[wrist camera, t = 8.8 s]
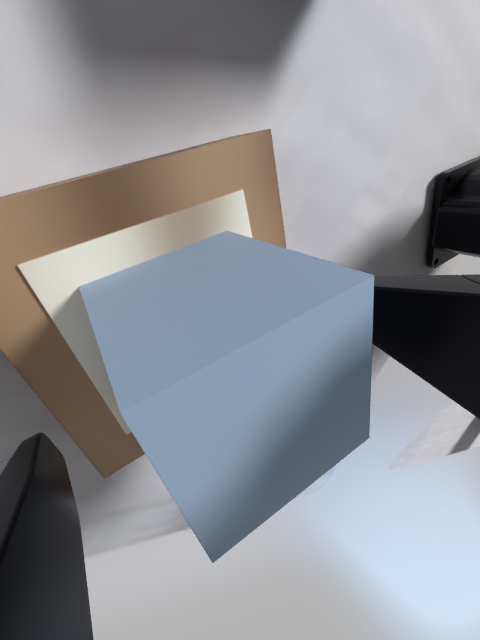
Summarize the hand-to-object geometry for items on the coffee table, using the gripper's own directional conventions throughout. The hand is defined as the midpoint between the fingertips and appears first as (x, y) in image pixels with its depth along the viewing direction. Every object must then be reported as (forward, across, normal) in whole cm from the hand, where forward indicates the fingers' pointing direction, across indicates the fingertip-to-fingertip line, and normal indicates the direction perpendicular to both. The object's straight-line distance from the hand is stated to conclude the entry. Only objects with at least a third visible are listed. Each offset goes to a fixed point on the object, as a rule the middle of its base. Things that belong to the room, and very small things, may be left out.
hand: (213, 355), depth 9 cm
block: (+3, 0, 0) cm, 3 cm away
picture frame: (+5, 0, 0) cm, 5 cm away
